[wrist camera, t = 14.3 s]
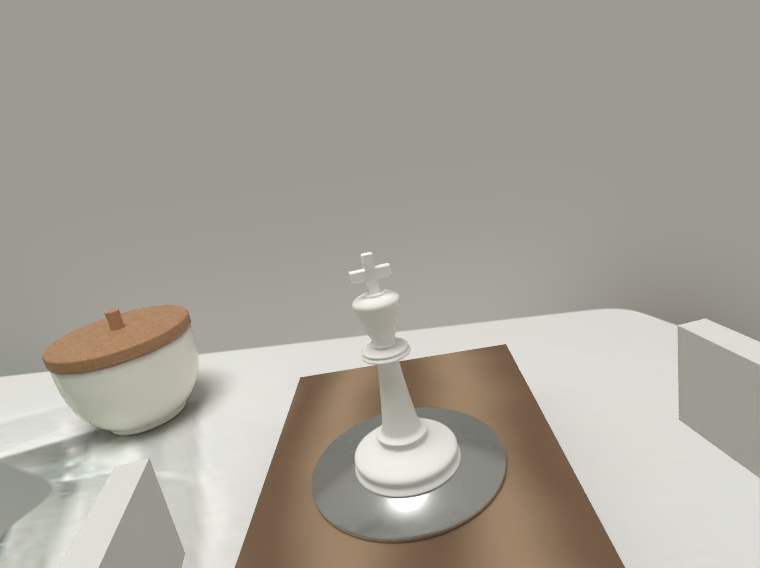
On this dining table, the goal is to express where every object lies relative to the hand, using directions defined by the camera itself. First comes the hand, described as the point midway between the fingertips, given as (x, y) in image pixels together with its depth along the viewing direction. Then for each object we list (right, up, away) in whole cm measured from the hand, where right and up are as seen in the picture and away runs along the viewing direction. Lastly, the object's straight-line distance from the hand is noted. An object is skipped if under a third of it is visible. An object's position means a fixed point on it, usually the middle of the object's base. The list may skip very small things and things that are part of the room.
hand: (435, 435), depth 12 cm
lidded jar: (-21, -7, +30) cm, 37 cm away
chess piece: (0, -5, +11) cm, 12 cm away
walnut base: (+1, -8, +13) cm, 16 cm away
